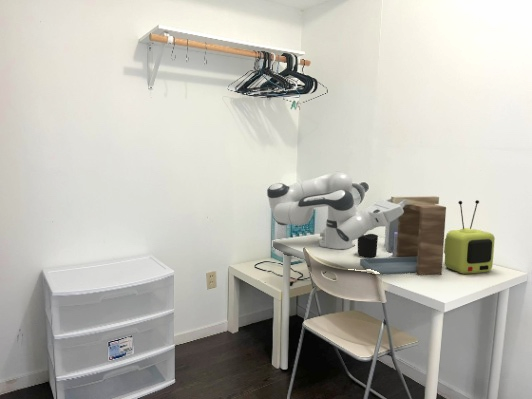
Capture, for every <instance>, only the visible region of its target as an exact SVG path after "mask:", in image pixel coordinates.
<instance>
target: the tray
mask: <svg viewBox="0 0 532 399" xmlns="http://www.w3.org/2000/svg"><path fill="white" fill-rule="evenodd" d="M359 266H361V267H362V268H363V269H364V270H366V269H371V270H374V271H377V272H379V273H380V274H382V275H383V274H386V275H403V274H405V273H406V274H405V275H407V273H410V274H417V257H392V256H391V257H374V258H364V257H362V258H359ZM382 275H381V276H382Z"/></svg>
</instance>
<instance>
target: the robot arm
mask: <svg viewBox="0 0 532 399" xmlns="http://www.w3.org/2000/svg"><path fill="white" fill-rule="evenodd" d="M352 189H353V181H352V178H351V176H350V175H349V174H347V173H345V172H342V171H335V172H330V173H327V174H324V175H321V176H317V177H314V178H310V179H306V180H302V181H297V182H295V183H293V184H290V185H286V184H285V183H283V182H282V183H280V182H279V183H278V182H277V183H274V184H271V185H270V186H269V187H268V188H267V190H266V191H267V192H266V194H267V198H268V202H269V207H270V209H271V213H272V215H273V218H274V220H275V223H277V224H278V225H280V226H288V225H289V226H290V225H291V226H292V225H293V226H305V225H307V224H308V223H309V222H310V221H311V219H312V218H313V216H314V208H322V207H327V219H326V222H325V227H324V229H323V230H322V232H321V231H320V233H319V236H320V237H321V238H318V239H317V242H318V245H319V247H321V248H329V249H335V250H347V249H351V248H352V247H355V242H353V241H355V240H358V238H359V237H361V236H362V235H366V233H367V232H369V231H371V230H372V231H373V230H374V229H376V228H379V227H382V228H383V227H386V226H387V225H388V222H391V221H393V220H395V219H396V218H398V217H399V216H401V215H402V214H403V213H404V211H403V207H404V206H405V205H406V204H407V203H408V202H407V200H405V199H404V200H402V201H401V203H398V204H395V203H392V202H391V198H388V199H385V200H384V199H381V198H380V199H378V200H376V201H375V202H372V203H371V204H370V205H369V206H368V207H366V208H363V209H362V210H361V211H360V212H358V211H357V207H356V204H355V201H354V200H355V199H354V197H353V194H352Z"/></svg>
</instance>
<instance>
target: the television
mask: <svg viewBox="0 0 532 399" xmlns="http://www.w3.org/2000/svg"><path fill="white" fill-rule="evenodd" d="M462 204H463V201H462V200H458V205H459V206H460V213H461V222H462V228H460V229H455V230H449V231H448V232H447V233H446V236H445V237H444V248H443V254H444V266H445V268H447V269H450V270H452V271H453V272H456V273H460V274H462V275H469V274H478V273H487V272H489V271H491V270H492V269H493V262H494V253H495V252H494V250H495V236H494V234H493V233H491V232H487V231H484V230H481V229H475V228H472V227H473V224H474V219H475V215H476V211H477V207H478V204H480V200H478V199H476V200H475V207H474V211H473V215H472V219H471V222H470V226H469V227H466V228H465V225H464V224H465V223H464V216H463V206H462Z"/></svg>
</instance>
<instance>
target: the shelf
mask: <svg viewBox="0 0 532 399" xmlns="http://www.w3.org/2000/svg"><path fill="white" fill-rule="evenodd" d="M403 211H404V213H403V214H402V215H401V216H399V217H398V234H397V254H396V257H417V273H416V275H417V274H418V275H417V276H419V275H420V276H439V275H442V274H443V263H444V262H443V260H444V246H445V229H446V218H447V216H446V214H447V212H446V211H447V207H446V206H443V205H439V204H413V205H405V206H404V207H403Z"/></svg>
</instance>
